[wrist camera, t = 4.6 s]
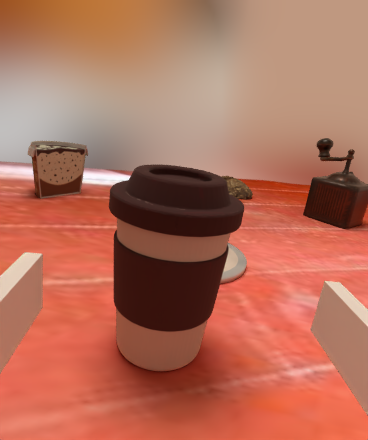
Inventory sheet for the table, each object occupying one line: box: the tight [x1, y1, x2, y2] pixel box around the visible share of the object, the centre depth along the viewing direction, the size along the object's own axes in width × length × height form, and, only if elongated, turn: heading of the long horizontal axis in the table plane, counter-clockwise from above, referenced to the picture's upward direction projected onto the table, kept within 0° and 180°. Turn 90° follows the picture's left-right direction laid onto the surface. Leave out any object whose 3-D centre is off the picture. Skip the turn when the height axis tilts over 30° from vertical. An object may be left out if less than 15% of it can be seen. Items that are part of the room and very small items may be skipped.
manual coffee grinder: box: [303, 138, 368, 229], centre depth 78 cm, size 16×11×18 cm
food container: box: [28, 141, 88, 199], centre depth 67 cm, size 12×6×10 cm, turn 145°
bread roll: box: [220, 176, 253, 200], centre depth 90 cm, size 13×12×5 cm
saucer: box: [220, 243, 247, 284], centre depth 47 cm, size 16×16×1 cm
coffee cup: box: [109, 165, 244, 371], centre depth 27 cm, size 10×10×15 cm
